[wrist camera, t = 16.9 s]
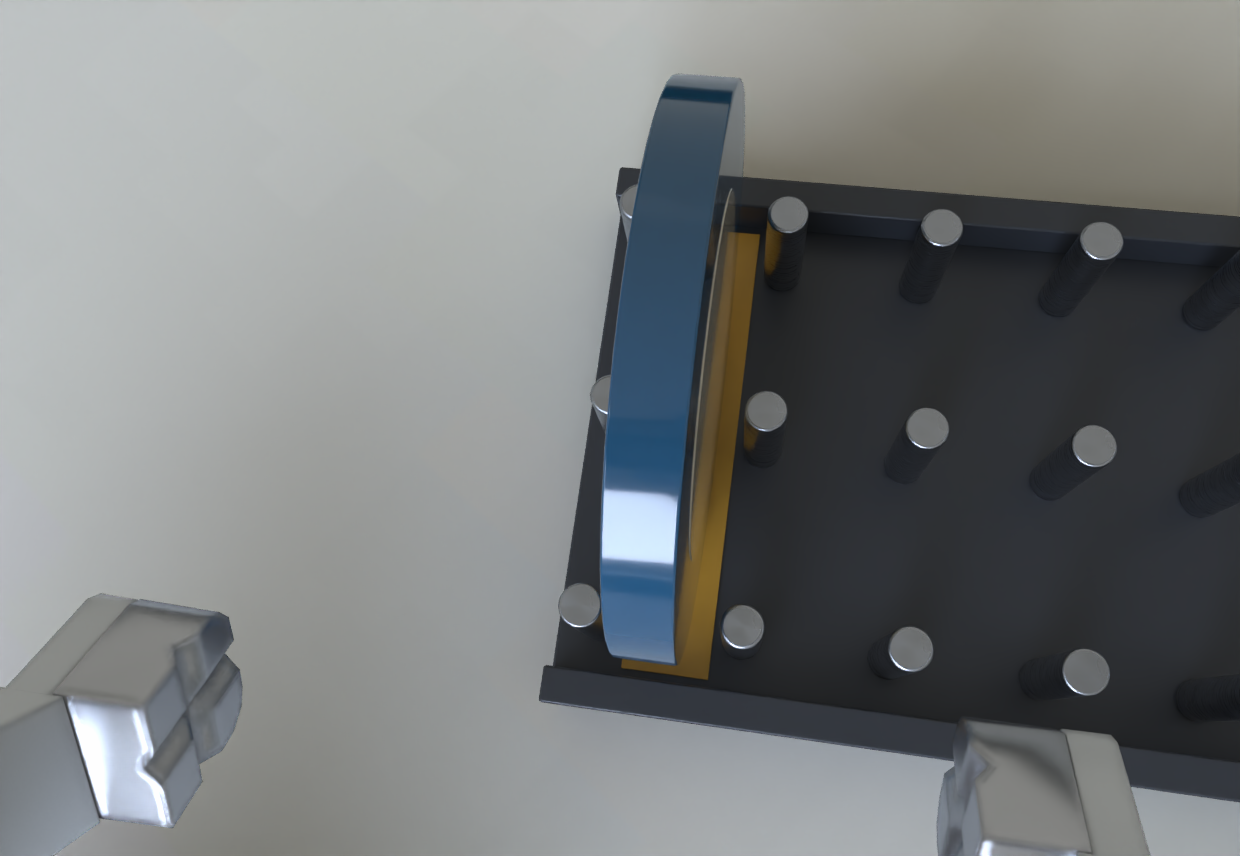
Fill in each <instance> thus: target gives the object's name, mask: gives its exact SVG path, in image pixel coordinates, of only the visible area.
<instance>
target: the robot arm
mask: <svg viewBox="0 0 1240 856" xmlns="http://www.w3.org/2000/svg"><path fill="white" fill-rule="evenodd" d="M233 640H234V638H233V633H232V629H231V625H230V621H229V617H227V616H225V615H224V614H222V613H220V612H215V611H209V610H203V609H197V608H191V607H185V606H179V605H173V604H167V603H161V602H155V601H149V600H143V599H140V600H136V599H131V598H125V597H119V596H113V595H108V594H102V593H100V594H98V595H95V596H93V597H90V598H88V599H87V600H86V601H85V602H84V603H83V604H82V605H81V606H80V607H79V608H78V609H77V611H76V612H75V613H74V614H73V615H72V616H71V617H70V618H69V619H68V620H67V621H66V622H65V624H64V625H63V626H62V627H61V628H60V629H59V630H58V631H57V632H56V633H55V634H54V636H53V637H52V638H51V639H50V640H49V641H48V642H47V643H46V644H45V645H44V646H43V648H42V649H41V650H40V651H39V652H38V653H37V654H36V655H35V656H34V657H33V658H32V659H31V661H30V662H29V663H28V664H27V665H26V666H25V667H24V668H23V669H22V670H21V671H20V673H19V674H18V675H17V676H16V677H15V678H14V679H13V680H12V681H11V682H10V683H9V685H8V686H7V687H6V688H3V687H0V856H53V855H54V854H56V853H57V852H59V851H60V850H62V849H63V848H64V847H66V846H67V845H69V844H70V843H72V842H73V841H74V840H76V839H77V838H79V837H80V836H81V835H83V834H84V833H86V832H87V831H89V830H90V829H91V828H93V827H94V826H96V825H97V824H98V823H100V819H99V818H102V819H109V820H117V821H124V822H131V823H139V824H146V825H153V826H160V827H168V828H173V827H174V826H175V824H176V822H177V821H178V819H179V818H180V816H181V815H182V813H183V811H184V810H185V808H186V807H187V805H188V804H189V802H190V800H191V799H192V797H193V796H194V794H195V793H196V791H197V790H198V788H199V786H200V785H201V783H202V782H203V781H202V776H201V771H200V766H199V764H200V763H202V762H204V761H206V760H207V759H209V758H211V757H212V756H214V755H216V754H218V753H219V752H221V751H222V750H223V748H224V747H225V745H226V743H227V742H228V740H229V738H230V737H231V735H232V733H233V732H234V729H235V726H236V723H237V719H238V716H239V713H240V710H241V706H242V688H243V686H242V680H241V674H240V669H239V668H238V667H237V666H236V665H235V664H234V663H233V662H232V661H231V660H230V658H229V657H228V656H227V655H226V654H225V652H226V651H227V649H228V648H229V646H230V645H231V643H232V642H233ZM952 746H953V756H954V765H955V766H954V767H953V768H951V769H950V770H949V771H947V772H946V773H945V774H944V778H943V783H942V788H941V792H940V797H939V806H938V816H937V850H938V856H1151V855H1150V852H1149V848H1148V845H1147V842H1146V838H1145V835H1144V831H1143V828H1142V824H1141V821H1140V817H1139V814H1138V811H1137V807H1136V804H1135V800H1134V797H1133V793H1132V790H1131V787H1130V783H1129V780H1128V776H1127V773H1126V769H1125V766H1124V762H1123V759H1122V756H1121V752H1120V749H1119V745H1118V742H1117V741H1116V740H1115V739H1114V738H1113V737H1112V735H1108V734H1100V733H1092V732H1085V731H1077V730H1069V729H1060V730H1058V729H1056V728H1049V727H1042V726H1034V725H1027V724H1019V723H1011V722H1004V721H996V720H989V719H981V718H974V717H966V716H961V718H960V720H959V722H958V724H957V727H956V730H955V734H954V738H953V742H952Z"/></svg>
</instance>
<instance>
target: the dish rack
mask: <svg viewBox="0 0 1240 856" xmlns="http://www.w3.org/2000/svg"><path fill="white" fill-rule="evenodd" d="M640 170H641V169H636V168H623V167H622V168H620V170H619V177H618V183H617V190H616V197H617V202H618V206H619V210H620V215H621V216H620V223H619V229H618V236H617V243H616V249H615V256H614V263H613V269H612V276H611V283H610V289H609V296H608V302H607V309H606V316H605V322H604V329H603V336H602V342H601V349H600V356H599V362H598V369H597V376H596V382H595V384H594V385H593V387H592V389H591V394H590V398H591V402H592V409H591V416H590V422H589V429H588V435H587V442H586V449H585V455H584V462H583V469H582V475H581V482H580V489H579V495H578V502H577V509H576V515H575V522H574V529H573V535H572V542H571V549H570V555H569V562H568V568H567V575H566V582H565V588H564V592H563V593H562V594H561V596H560V599H559V604H558V608H559V613H560V622H559V628H558V635H557V642H556V648H555V655H554V662H553V666H549V665H546V666H544V669H543V675H542V682H541V688H540V695H539V701H541V702H545V703H552V704H559V705H566V706H573V707H580V708H587V709H594V710H601V711H607V712H614V713H621V714H628V715H635V716H642V717H649V718H656V719H663V720H670V721H677V722H684V723H691V724H698V725H705V726H712V727H719V728H726V729H733V730H740V731H747V732H754V733H761V734H768V735H775V736H782V737H789V738H796V739H803V740H810V741H816V742H823V743H830V744H837V745H844V746H851V747H858V748H865V749H872V750H879V751H886V752H893V753H900V754H907V755H914V756H921V757H928V758H935V759H942V760H949V761H954V756H953V746H952V742H953V738H954V734H955V730H956V727H957V724H958V722H959V720H960V718H961V716H966V717H974V718H981V719H989V720H996V721H1004V722H1011V723H1019V724H1027V725H1034V726H1042V727H1049V728H1056V729H1058V730H1060V729H1069V730H1077V731H1085V732H1092V733H1100V734H1108V735H1112V737H1113V738H1114V739H1115V740H1116V741H1117V742H1118V745H1119V749H1120V752H1121V756H1122V759H1123V762H1124V766H1125V769H1126V773H1127V776H1128V780H1129V783H1130V787H1137V788H1144V789H1151V790H1158V791H1165V792H1172V793H1179V794H1186V795H1193V796H1200V797H1207V798H1214V799H1220V800H1227V801H1234V802H1240V217H1237V216H1224V215H1212V214H1199V213H1187V212H1174V211H1162V210H1149V209H1137V208H1124V207H1112V206H1099V205H1086V204H1074V203H1061V202H1049V201H1036V200H1024V199H1011V198H999V197H986V196H974V195H961V194H949V193H936V192H924V191H911V190H899V189H886V188H874V187H861V186H849V185H836V184H824V183H811V182H799V181H786V180H774V179H761V178H749V177H743V183H742V199H741V213H740V226H739V239H738V252H737V263H736V275H735V286H734V297H733V308H732V318H731V328H730V338H729V348H728V357H727V367H726V376H725V385H724V394H723V403H722V412H721V420H720V429H719V437H718V445H717V453H716V461H715V469H714V477H713V485H712V492H711V500H710V507H709V514H708V521H707V529H706V535H705V542H704V549H703V556H702V562H701V568H700V575H699V581H698V587H697V593H696V598H695V604H694V609H693V615H692V620H691V625H690V630H689V634H688V639H687V643H686V647H685V650H684V654H683V657H682V659H681V661H680V663H679V665H676V666H671V665H664V664H657V663H649V662H642V661H635V660H628V659H620V658H614V657H612V655H611V654H610V653H609V651H608V648H607V644H606V641H605V636H604V630H603V623H602V612H601V598H600V523H601V496H602V478H603V462H604V446H605V433H606V421H607V409H608V397H609V387H610V377H611V367H612V357H613V348H614V339H615V331H616V323H617V314H618V306H619V298H620V291H621V284H622V277H623V269H624V262H625V255H626V249H627V243H628V237H629V230H630V224H631V218H632V212H633V207H634V201H635V196H636V190H637V185H638V180H639V175H640Z"/></svg>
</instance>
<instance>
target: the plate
mask: <svg viewBox="0 0 1240 856" xmlns="http://www.w3.org/2000/svg"><path fill="white" fill-rule="evenodd" d="M744 144H745V92H744V85H743V82H742V79H741V78H735V77H721V76H707V75H692V74H674V75H672V76H671V77H670V78H669V80H668V81H667V82H666V84H665V87H664V89H663V91H662V93H661V96H660V98H659V101H658V104H657V107H656V110H655V113H654V116H653V120H652V124H651V127H650V131H649V135H648V139H647V143H646V147H645V152H644V156H643V161H642V165H641V170H640V175H639V180H638V185H637V190H636V196H635V201H634V207H633V212H632V218H631V224H630V230H629V237H628V243H627V249H626V255H625V262H624V269H623V277H622V284H621V291H620V298H619V306H618V314H617V323H616V331H615V339H614V348H613V357H612V367H611V377H610V387H609V397H608V409H607V421H606V433H605V446H604V462H603V478H602V496H601V523H600V598H601V612H602V623H603V630H604V636H605V641H606V644H607V648H608V651H609V653H610V654H611V655H612V657H614V658H620V659H628V660H635V661H642V662H649V663H657V664H664V665H671V666H676V665H679V663H680V661H681V659H682V657H683V654H684V650H685V647H686V643H687V639H688V634H689V630H690V625H691V620H692V615H693V609H694V604H695V598H696V593H697V587H698V581H699V575H700V568H701V562H702V556H703V549H704V542H705V535H706V529H707V521H708V514H709V507H710V500H711V492H712V485H713V477H714V469H715V461H716V453H717V445H718V437H719V429H720V420H721V412H722V403H723V394H724V385H725V376H726V367H727V357H728V348H729V338H730V328H731V318H732V308H733V297H734V286H735V275H736V263H737V252H738V239H739V226H740V213H741V199H742V183H743V166H744Z"/></svg>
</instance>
